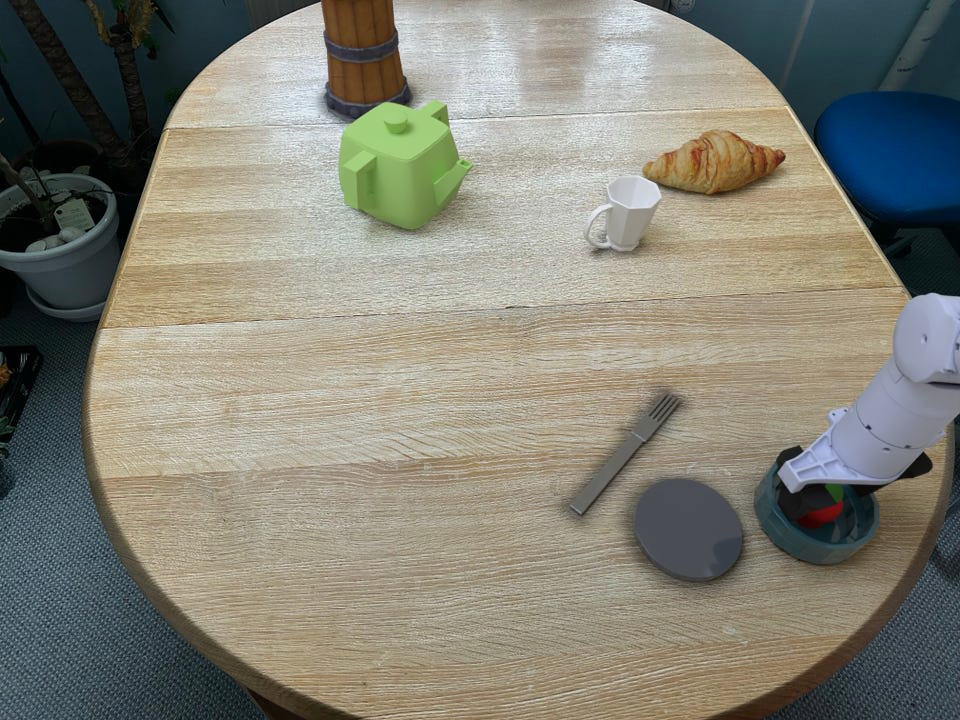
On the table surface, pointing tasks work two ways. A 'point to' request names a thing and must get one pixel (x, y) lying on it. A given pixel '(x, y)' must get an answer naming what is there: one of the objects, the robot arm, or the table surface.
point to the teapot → (401, 163)
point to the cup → (626, 211)
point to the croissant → (714, 163)
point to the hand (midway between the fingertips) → (821, 499)
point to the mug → (362, 57)
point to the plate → (687, 530)
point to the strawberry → (827, 514)
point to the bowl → (828, 539)
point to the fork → (624, 453)
